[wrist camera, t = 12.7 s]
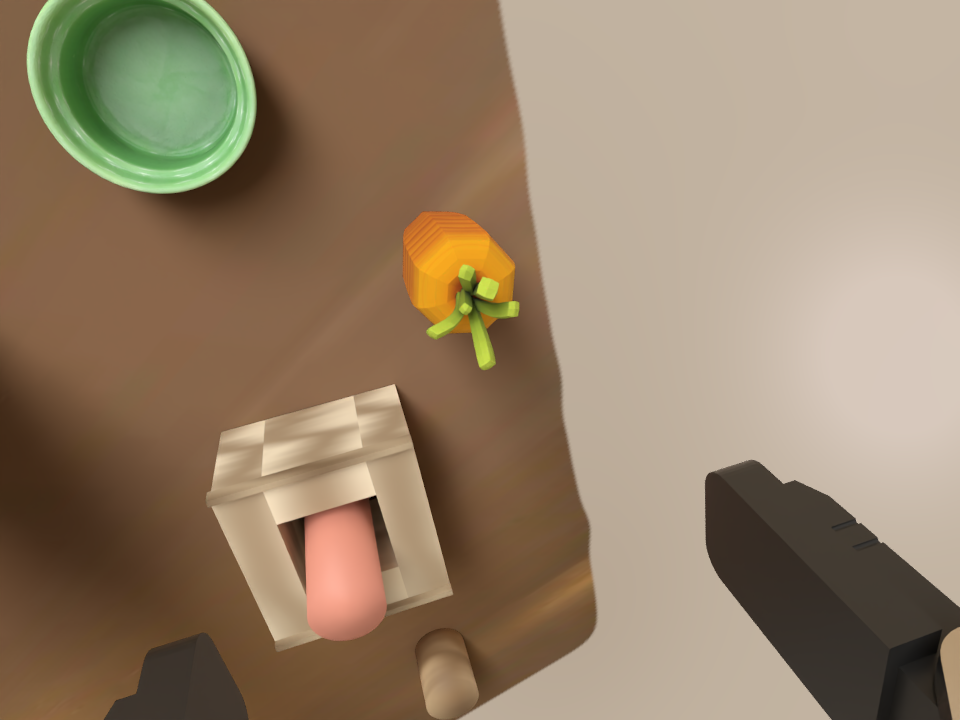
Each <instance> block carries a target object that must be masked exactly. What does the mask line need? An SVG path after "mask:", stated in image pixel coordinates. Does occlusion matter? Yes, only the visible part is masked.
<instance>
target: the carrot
mask: <svg viewBox="0 0 960 720" xmlns="http://www.w3.org/2000/svg"><path fill="white" fill-rule="evenodd" d="M514 274H515V264H514V262H513V261H512V259H511V258H510V257H509V256H508V255H507V254H506V253H505V252H504V251H503V250H502V248H501V247H500V246H499V245H498V244H497V243H496V242H495V241H494V240H493V239H492V237H491V236H490V235H489V234H488V233H487V232H486V231H485V230H484V229H482V228H481V227H480V226H479V225H478V224H477V223H476V222H474V221H473V220H471V219H470V218H469V217H467V216H466V215H463V214H459V213H454V212H425V211H423V212H422V213H421V214H420V215H419V216H418V217H417V218H416V219H415V220H414V221H413V222H412V223H411V224H410V225H409V226H408V227H407V228H406V229H405V230H404V234H403V278H404V281H405V285H406V288H407V291H408V294H409V297H410V299H411V302H412V304H413V305H414V306H415V307H416V308H417V309H418V310H419V311H420V312H421V313H422V314H423V315H424V316H425V317H426V318H427V319H429V320H430V321H431V322H432V323H433V324H434V326H432V327H430V328H429V329H428V330H427V331H426V332H427V334H428V335H429V336H430V337H431V338H433V339H435V340H436V339H438V338H441V337H443V336H445V335H446V334H448V333H471V332H472V337H473V341H474V346H475V351H476V356H477V360H478V363H479V367H480V368H481V369H482V370H487V369H490V368H491V367H493V366H494V365H495V364H496V362H495V355H494V351H493V347H492V344H491V341H490V338H489V336H488V333H487V330H486V329H487V328H488V327H489V326H490V325H491V324H492V323H493V322H494V321H495V320H497V319H498V318H503V319H505V318H511V317H517V316H518V313H519V302H516V301H512V296H513V285H514Z"/></svg>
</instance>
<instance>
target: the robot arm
mask: <svg viewBox="0 0 960 720" xmlns="http://www.w3.org/2000/svg"><path fill="white" fill-rule="evenodd" d="M705 509H706V510H705V514H706V515H705V518H706V546H707V551H708V555H709V558H710V560H711V563H712V565H713V567H714V569H715V571H716V573H717V574H718V576H719V578H720V579H721V580H722V582H723V583H724V584H725V586H726V587H727V588H728V589H729V591H730V592H731V593H732V594H733V596H734V597H735V598H736V599H737V601H738V602H739V603H740V605H741V606H742V607H743V608H744V609H745V611H746V612H747V613H748V614H749V616H750V617H751V618H752V620H753V621H754V622H755V624H757V626H758V627H759V628H760V630H761V631H762V632H763V634H764V635H765V636H766V637H767V639H768V640H769V641H770V642H771V644H772V645H773V646H774V647H775V649H776V650H777V651H778V653H779V654H780V655H781V656H782V658H783V659H784V660H785V661H786V663H787V664H788V665H789V666H790V668H791V669H792V670H793V671H794V673H795V674H796V675H797V677H798V678H799V679H800V680H801V682H802V683H803V684H804V685H805V687H806V688H807V689H808V690H809V692H810V693H811V694H812V695H813V697H814V698H815V699H816V701H817V702H818V703H819V704H820V705H821V707H822V708H823V709H824V711H825V712H826V713H827V714H828V715H829V717H830V718H831V719H832V720H960V607H958V606H957V605H956V604H955V603H953V602H952V601H951V600H950V599H949V598H948V597H947V596H945V595H944V594H943V593H942V592H941V591H940V590H938V589H937V588H936V587H935V586H934V585H933V584H931V583H930V582H929V581H928V580H927V579H926V578H924V577H923V576H922V575H921V574H920V573H918V572H917V571H916V570H915V569H914V568H913V567H912V566H910V565H909V564H908V563H907V562H906V561H905V560H903V559H902V558H901V557H900V556H899V555H897V554H896V553H895V552H894V551H893V550H892V549H890V548H889V547H888V546H887V545H886V544H885V543H880V542H879V541H878V538H877V537H876V536H875V535H874V534H873V533H872V532H871V531H869V530H868V529H867V528H866V527H865V526H864V525H862V524H861V523H860V524H858V523H857V522H856V519H855V518H854V517H853V516H852V515H851V514H849V513H848V512H847V511H846V510H845V509H844V508H843V507H841V506H840V505H839V504H838V503H836V502H835V501H834V500H833V499H832V498H831V497H829V496H828V495H826V494H823V493H821V492H819V491H817V490H815V489H813V488H811V487H808V486H806V485H804V484H802V483H799V482H797V481H795V480H794V481H791V482H788V483H785V484H783V483H782V482H781V481H780V480H778V479H777V478H776V477H775V476H774V475H773V474H772V473H771V472H770V471H768V470H767V469H766V468H765V467H764V466H763V465H762V464H760V463H759V462H757V461H755V460H749V461H745V462H742V463H739V464H736V465H733V466H730V467H726V468H723V469H720V470H717V471H714V472H711V473H709V474H708V475H707V477H706V480H705ZM104 720H248V714H247V710H246V706H245V703H244V700H243V697H242V695H241V693H240V691H239V689H238V687H237V686H236V684H235V682H234V680H233V678H232V676H231V674H230V673H229V671H228V669H227V667H226V665H225V663H224V661H223V660H222V658H221V656H220V654H219V652H218V650H217V648H216V647H215V645H214V643H213V641H212V639H211V638H210V637H209V635H208V634H206V633H200V634H197V635H194V636H191V637H188V638H185V639H181V640H178V641H175V642H172V643H169V644H166V645H163V646H159V647H156V648H153V649H151V650H150V651H149V652H148V653H147V655H146V657H145V660H144V663H143V667H142V672H141V676H140V680H139V685H138V689H137V693H136V694H135V695H132V696H129V697H126V698H123V699H119V700H116V701H115V703H114V704H113V706H112V708H111V709H110V711H109V712H108V714H107V715H106V717H105V719H104Z"/></svg>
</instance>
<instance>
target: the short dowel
mask: <svg viewBox="0 0 960 720" xmlns="http://www.w3.org/2000/svg"><path fill="white" fill-rule="evenodd" d="M415 654H416V659H417V664H418V668H419V673H420V678H421V683H422V688H423V693H424V698H425V703H426V708H427V711H428V713H429V714H430V715H431V716H433V717H435V718H438V719H453V718H456V717H459V716H461V715H463V714H465V713H467V712H468V711H470V710H471V709H472V708H473V707H474V706H475V704H476V703H477V701H478V697H479V692H478V689H477V685H476V682H475V678H474V675H473V671H472V668H471V664H470V661H469V657H468V654H467V650H466V647H465V643H464V640H463V637H462V635H461V634H460V633H459V632H458V631H456V630H453V629H448V628H444V629H437V630H434V631H432V632H429V633H428V634H426V635H425V636H423V637H422V638H421V639H420V640H419V642H418V643H417V645H416V649H415Z"/></svg>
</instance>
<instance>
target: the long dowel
mask: <svg viewBox="0 0 960 720" xmlns="http://www.w3.org/2000/svg"><path fill="white" fill-rule="evenodd" d="M304 526H305V561H306V596H307V620H308V624H309V626H310V628H311V629H312V630H313V631H314V632H315V633H316V634H317V635H319V636H321V637H323V638H326V639H329V640H335V641H346V640H352V639H356V638H359V637H362V636H364V635H366V634H368V633H369V632H371V631H372V630H374V629H375V628H376V627H377V626H378V625H379V624H380V623H381V621H382V620H383V618H384V616H385V614H386V609H387V603H386V597H385V591H384V585H383V579H382V573H381V567H380V561H379V555H378V549H377V543H376V538H375V532H374V526H373V520H372V514H371V508H370V502H369V497H368V498H364V499H361V500H358V501H354V502H351V503H348V504H344V505H341V506H338V507H334V508H331V509H328V510H324V511H321V512H318V513H314V514H311V515H308V516H304Z"/></svg>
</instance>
